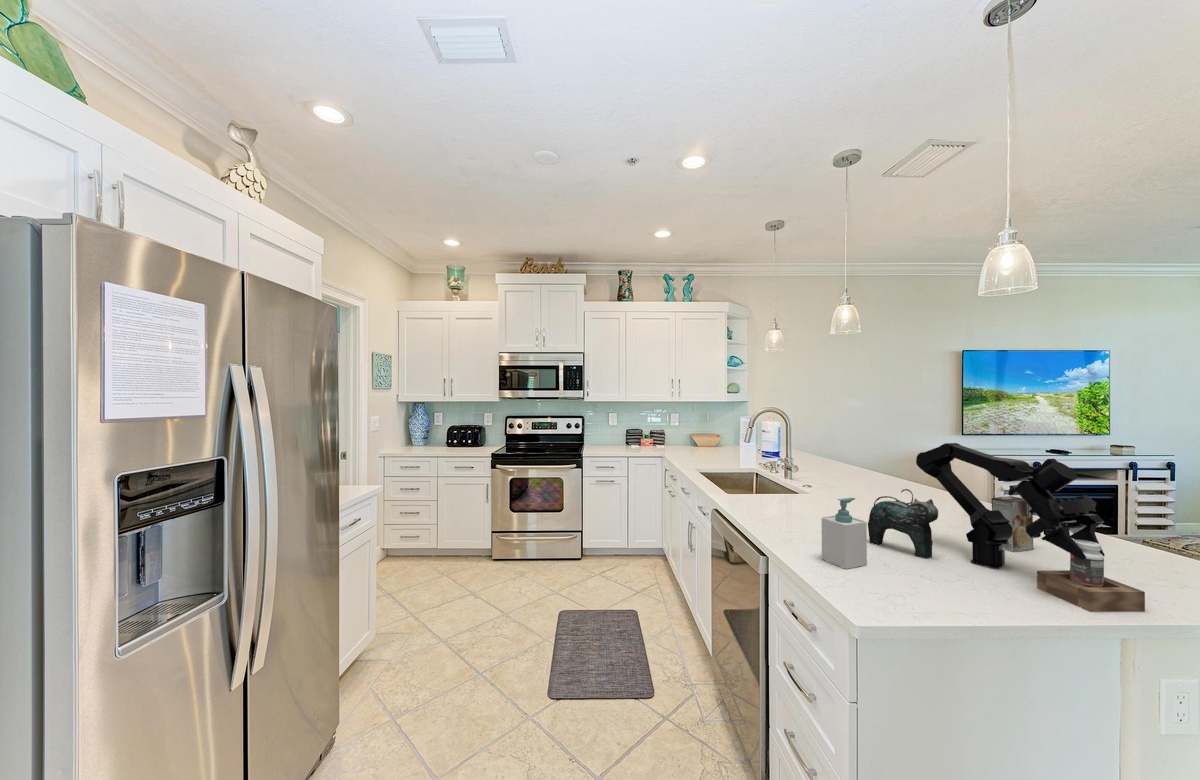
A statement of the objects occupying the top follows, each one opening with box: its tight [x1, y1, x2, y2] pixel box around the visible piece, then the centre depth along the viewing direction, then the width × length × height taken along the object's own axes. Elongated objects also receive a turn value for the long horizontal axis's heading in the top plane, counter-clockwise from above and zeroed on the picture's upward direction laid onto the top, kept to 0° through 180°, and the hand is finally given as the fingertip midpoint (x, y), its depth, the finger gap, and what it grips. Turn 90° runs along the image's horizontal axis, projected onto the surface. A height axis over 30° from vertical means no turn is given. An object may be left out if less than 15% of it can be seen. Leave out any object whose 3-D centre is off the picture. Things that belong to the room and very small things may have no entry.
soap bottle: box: [821, 497, 868, 570], centre depth 138 cm, size 9×9×19 cm
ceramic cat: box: [867, 488, 939, 560], centre depth 148 cm, size 20×6×20 cm, turn 28°
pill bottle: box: [1069, 539, 1105, 587], centre depth 113 cm, size 6×6×10 cm
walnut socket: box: [1036, 569, 1146, 612], centre depth 113 cm, size 13×13×4 cm
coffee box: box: [991, 495, 1034, 553], centre depth 149 cm, size 9×6×16 cm
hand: (1093, 557), depth 111 cm, fingers closed on pill bottle, 6 cm apart
